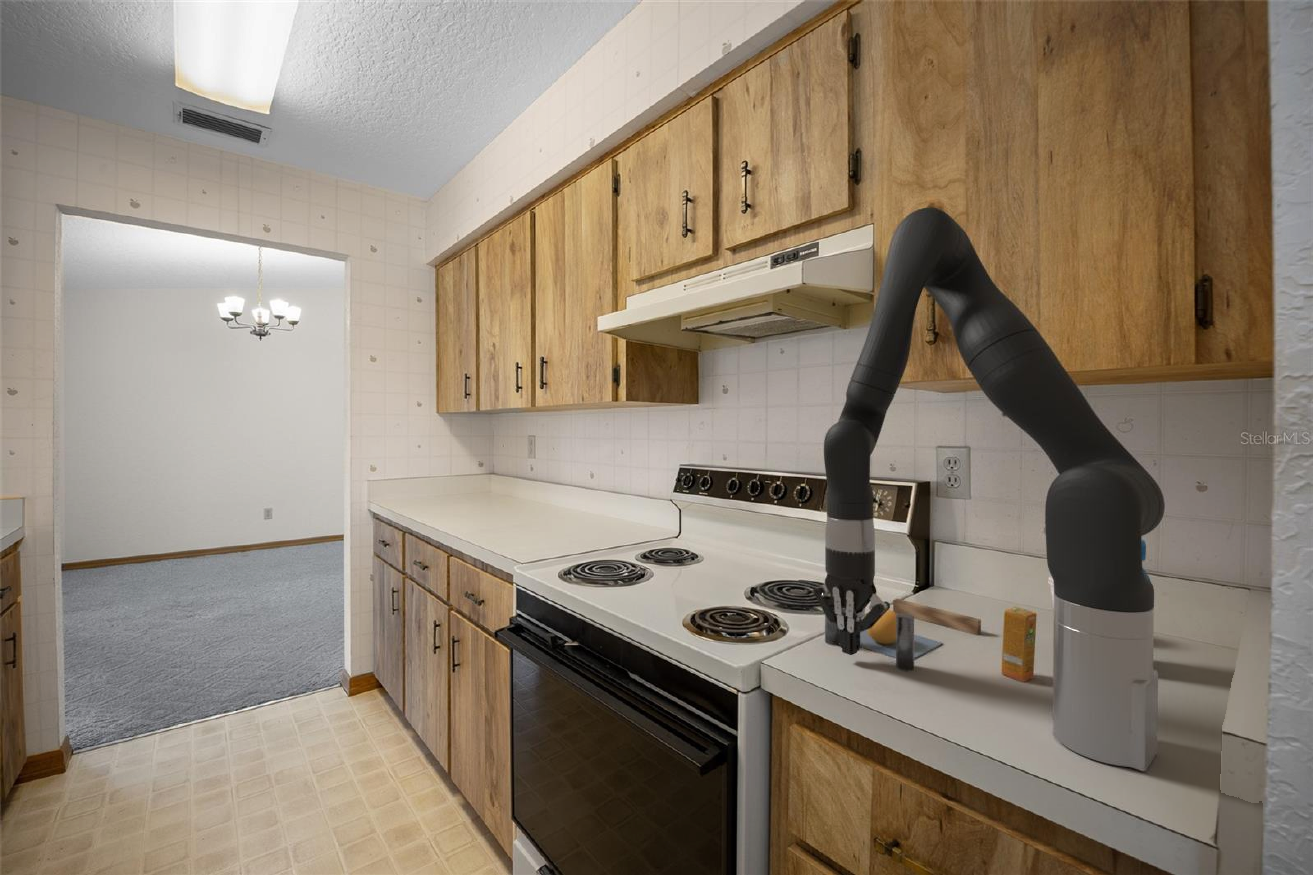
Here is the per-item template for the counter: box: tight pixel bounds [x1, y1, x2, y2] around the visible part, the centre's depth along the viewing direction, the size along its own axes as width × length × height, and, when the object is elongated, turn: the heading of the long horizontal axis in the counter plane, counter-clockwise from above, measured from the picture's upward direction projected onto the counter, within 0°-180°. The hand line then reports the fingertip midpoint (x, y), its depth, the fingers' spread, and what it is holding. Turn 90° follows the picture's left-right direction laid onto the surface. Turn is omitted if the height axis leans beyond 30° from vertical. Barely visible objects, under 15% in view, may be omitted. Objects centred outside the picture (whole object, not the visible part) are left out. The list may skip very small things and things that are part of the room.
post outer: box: [824, 614, 840, 646], centre depth 98 cm, size 3×3×8 cm
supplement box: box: [1001, 606, 1038, 683], centre depth 85 cm, size 3×3×10 cm
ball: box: [867, 608, 897, 644], centre depth 98 cm, size 6×6×6 cm
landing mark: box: [860, 630, 944, 660], centre depth 98 cm, size 12×12×1 cm
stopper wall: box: [892, 598, 982, 636], centre depth 108 cm, size 16×2×2 cm, turn 38°
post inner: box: [895, 613, 915, 671], centre depth 88 cm, size 3×3×8 cm
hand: (849, 652), depth 90 cm, fingers closed
